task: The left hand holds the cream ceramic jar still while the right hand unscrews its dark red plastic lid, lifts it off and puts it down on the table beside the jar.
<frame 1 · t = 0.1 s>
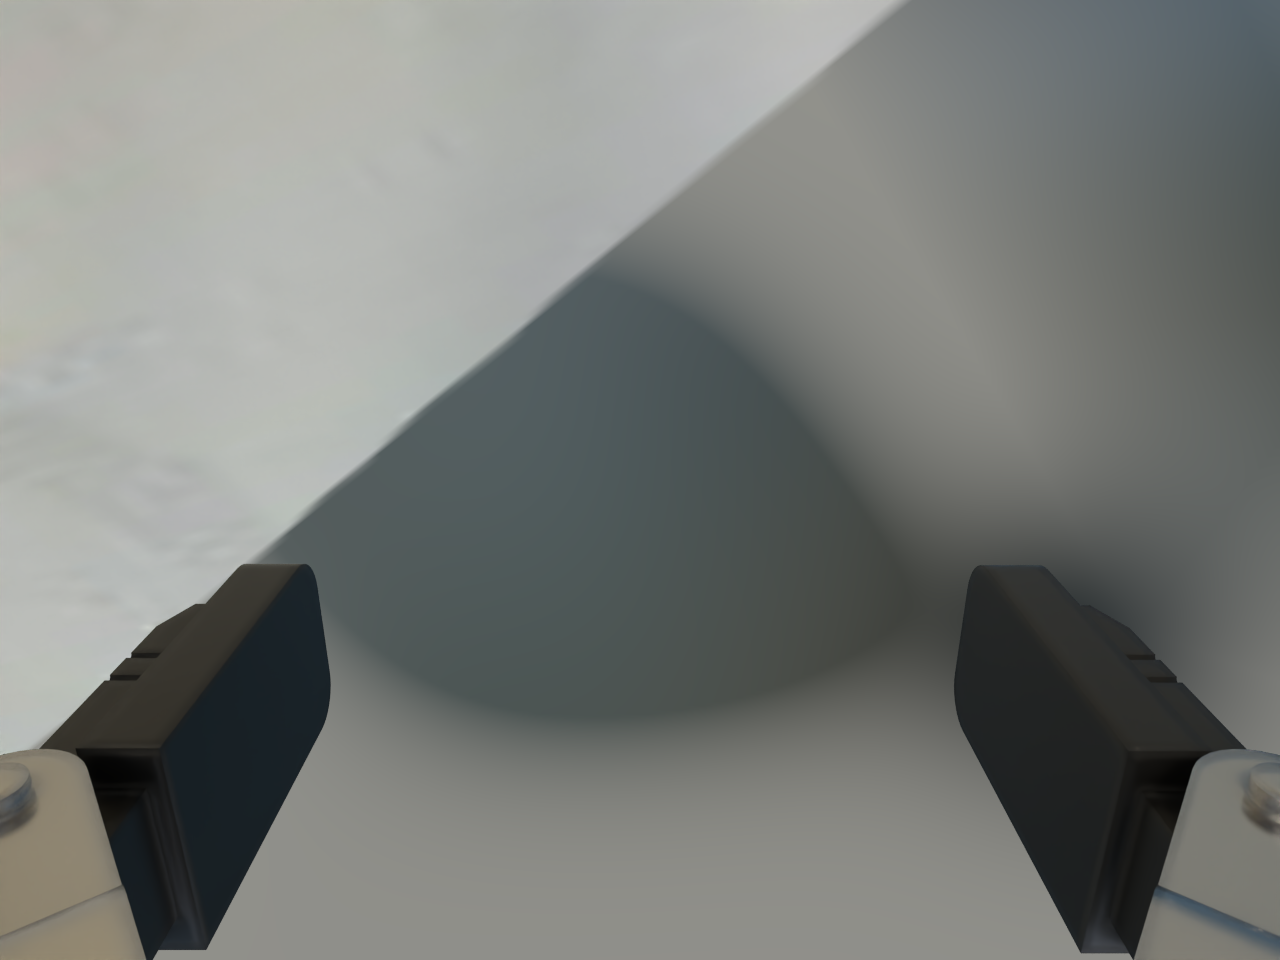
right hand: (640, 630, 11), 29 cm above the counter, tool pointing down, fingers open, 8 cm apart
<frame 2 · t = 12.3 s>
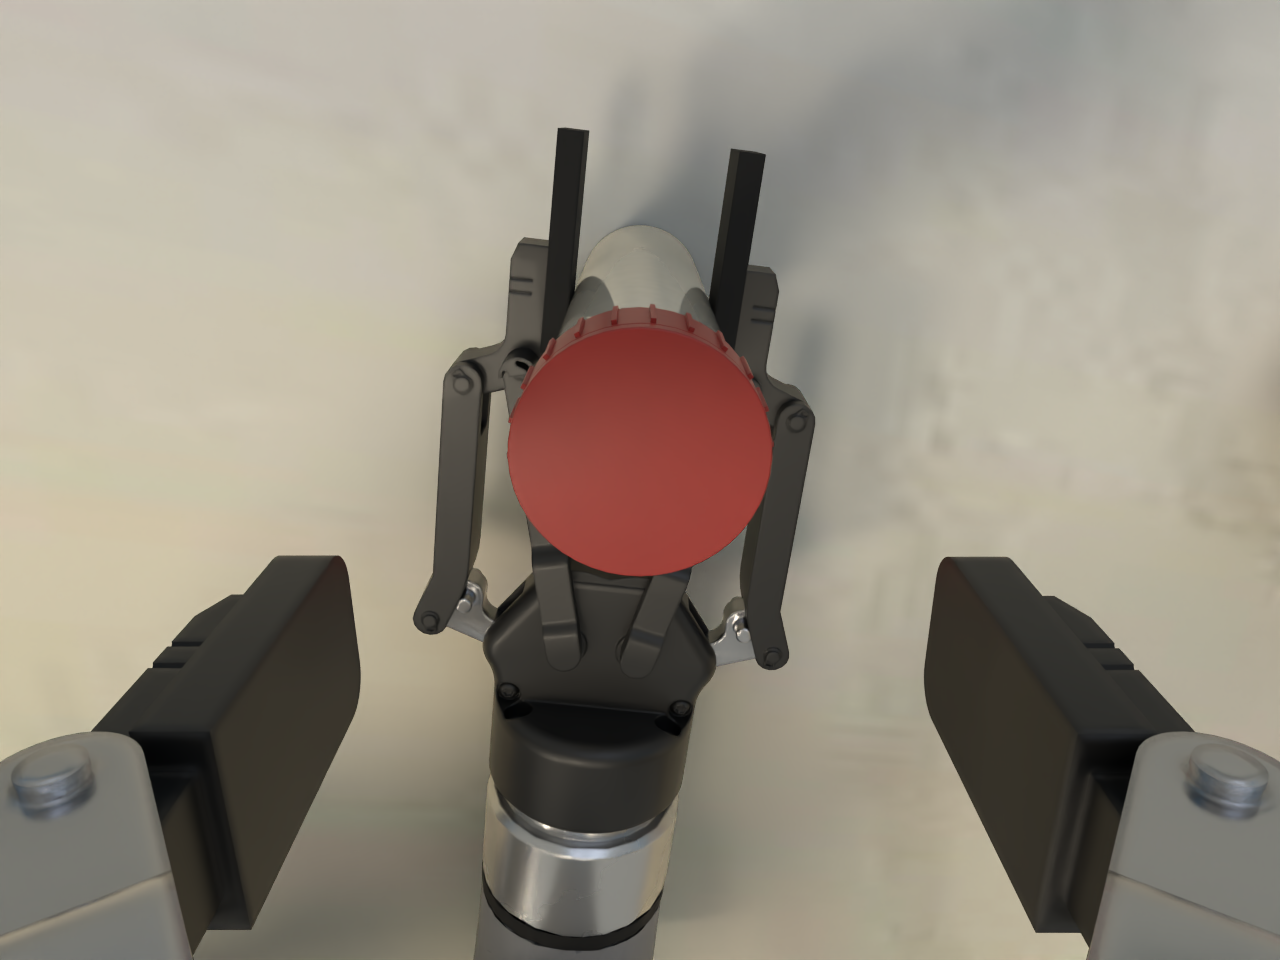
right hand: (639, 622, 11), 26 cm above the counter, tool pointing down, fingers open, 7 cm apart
left hand: (660, 142, 27), fingers closed on jar, 4 cm apart
jar: (640, 284, 35), on the counter, touching left hand
lid: (640, 452, 17), point 19 cm above the counter, screwed on, not yet turned
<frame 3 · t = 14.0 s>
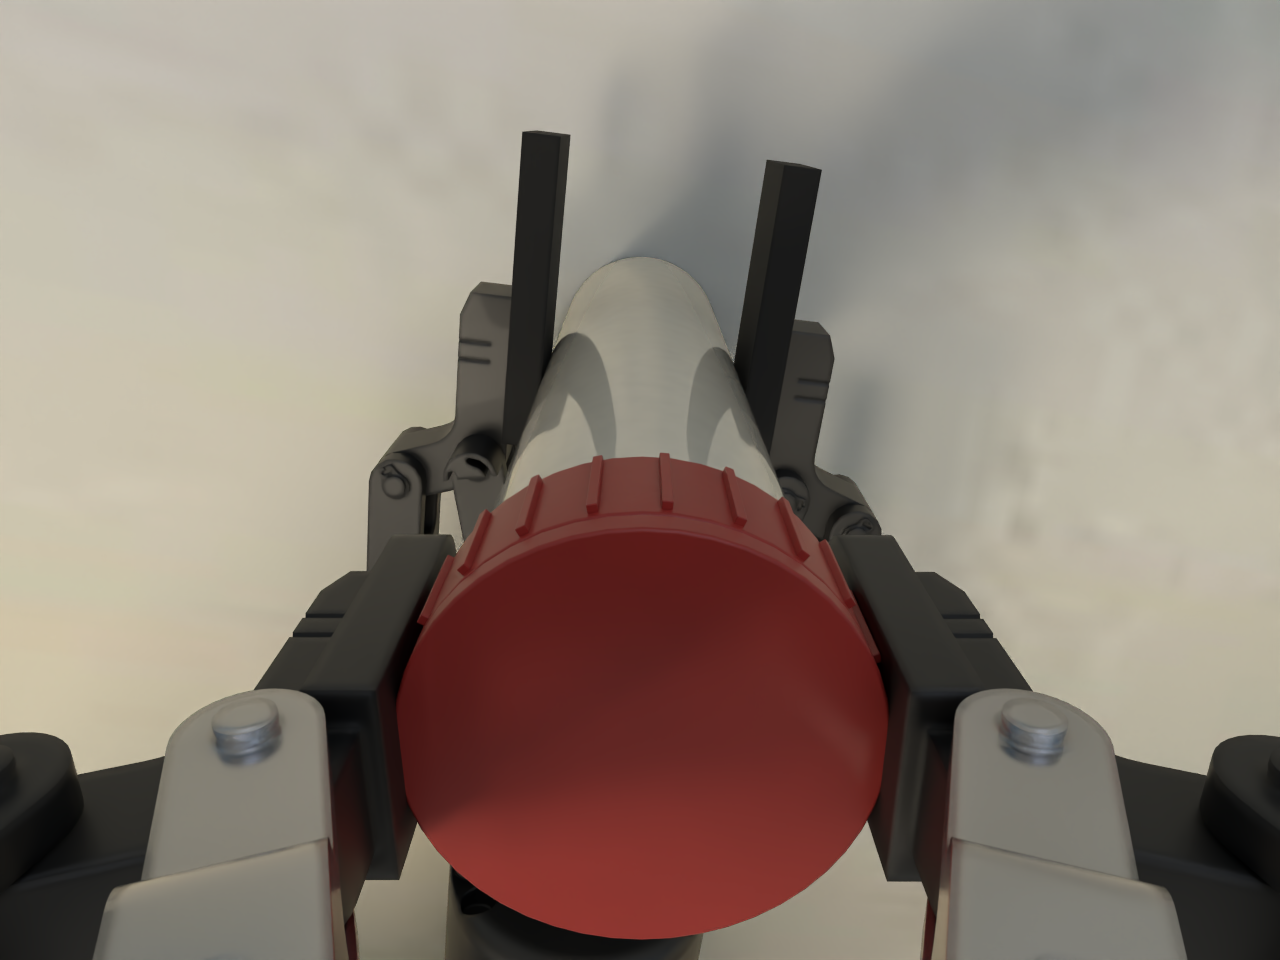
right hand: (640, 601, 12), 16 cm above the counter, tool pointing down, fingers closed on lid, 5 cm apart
jar: (640, 332, 27), on the counter, touching left hand
lid: (641, 733, 9), point 19 cm above the counter, screwed on, not yet turned, touching right hand
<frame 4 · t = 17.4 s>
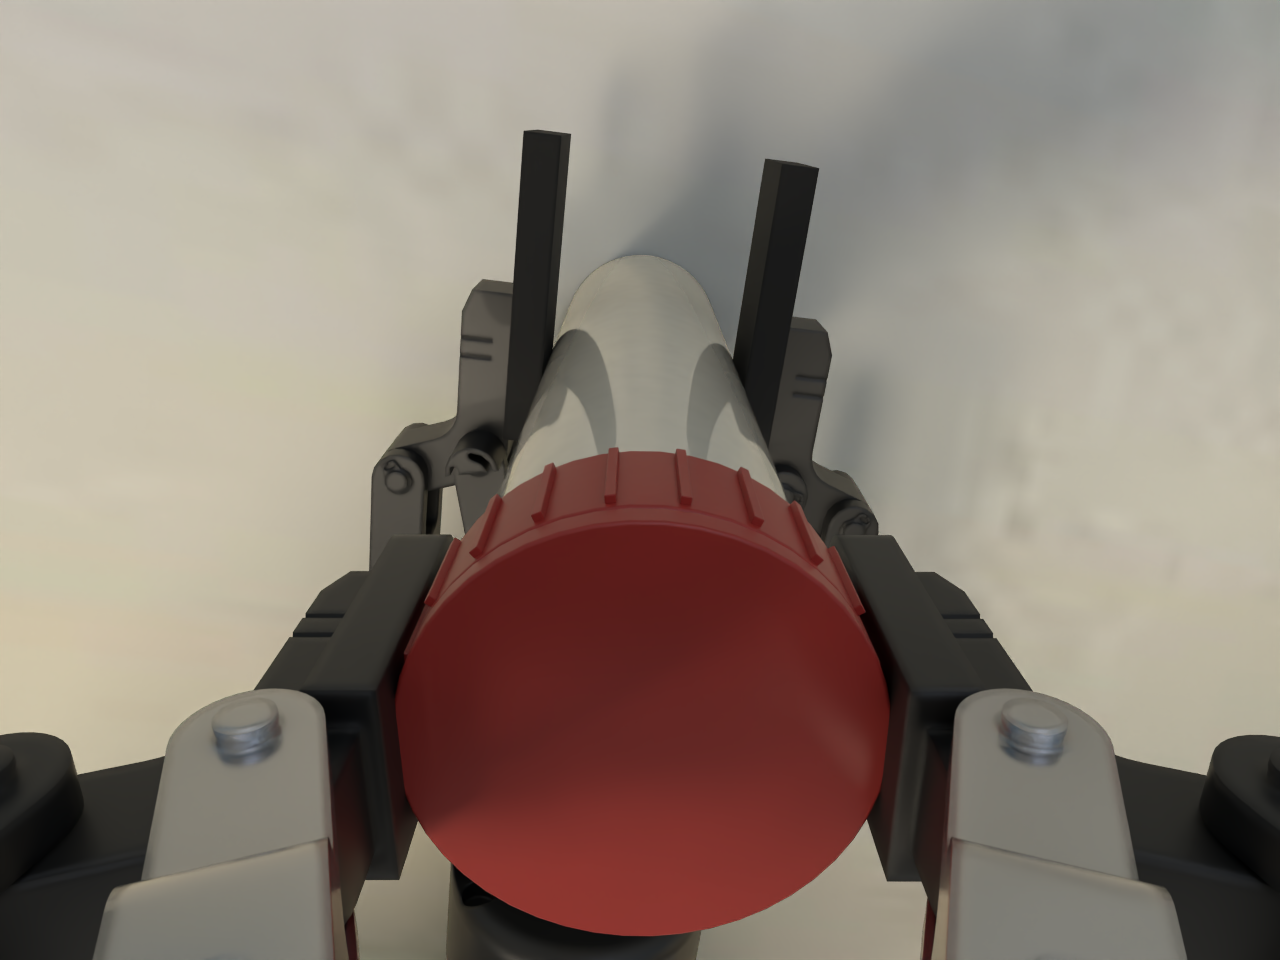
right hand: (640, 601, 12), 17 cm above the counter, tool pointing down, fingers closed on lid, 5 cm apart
jar: (640, 330, 27), on the counter, touching left hand
lid: (641, 728, 9), point 19 cm above the counter, turned 78° so far, risen 0.3 cm, still on its thread, touching right hand
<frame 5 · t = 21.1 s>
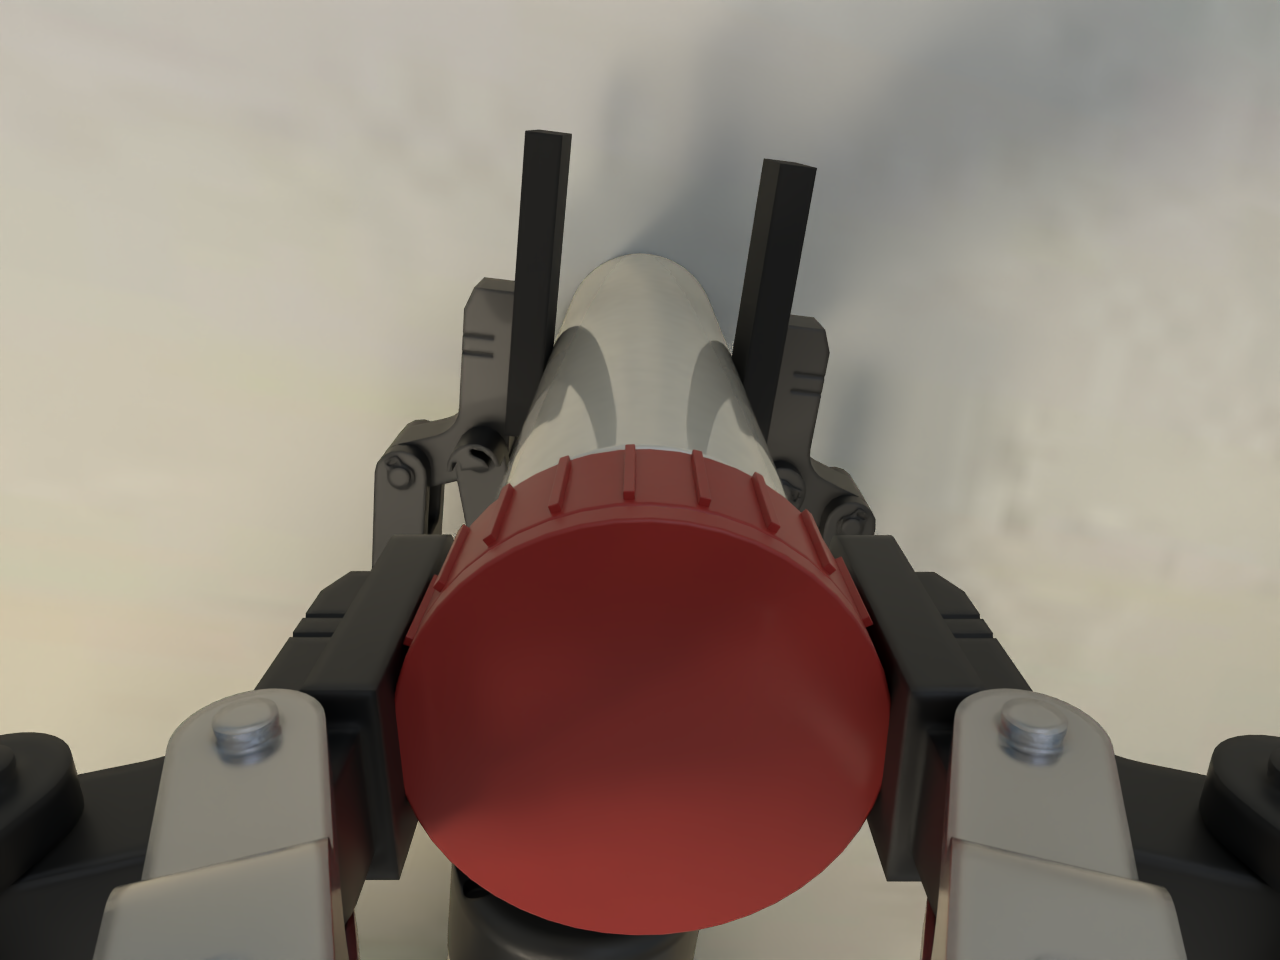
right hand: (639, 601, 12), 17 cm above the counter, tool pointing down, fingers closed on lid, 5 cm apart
jar: (640, 328, 28), on the counter, touching left hand
lid: (641, 726, 9), point 20 cm above the counter, turned 156° so far, risen 0.5 cm, still on its thread, touching right hand
when the right hand's fingers open (0 cm above the counter, at t = 28.7 s): lid drops 2 cm, point 2 cm above the counter.
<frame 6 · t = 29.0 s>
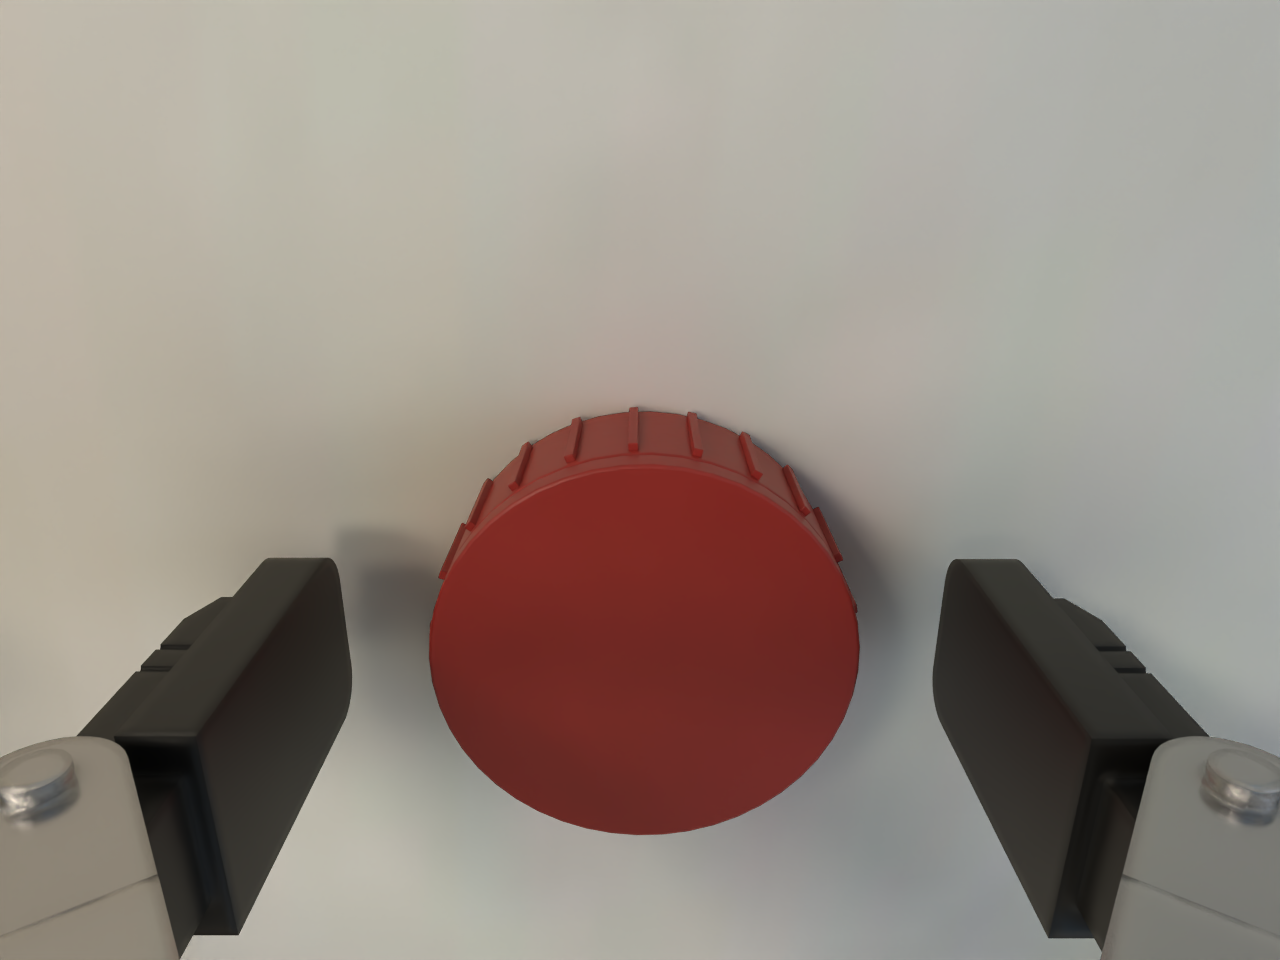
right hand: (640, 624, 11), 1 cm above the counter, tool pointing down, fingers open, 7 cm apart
lid: (644, 650, 11), point 2 cm above the counter, off its thread
when the left hand's fingers open (7 cm above the counter, at t = 29.6 s): jar stays where it is, on the counter.
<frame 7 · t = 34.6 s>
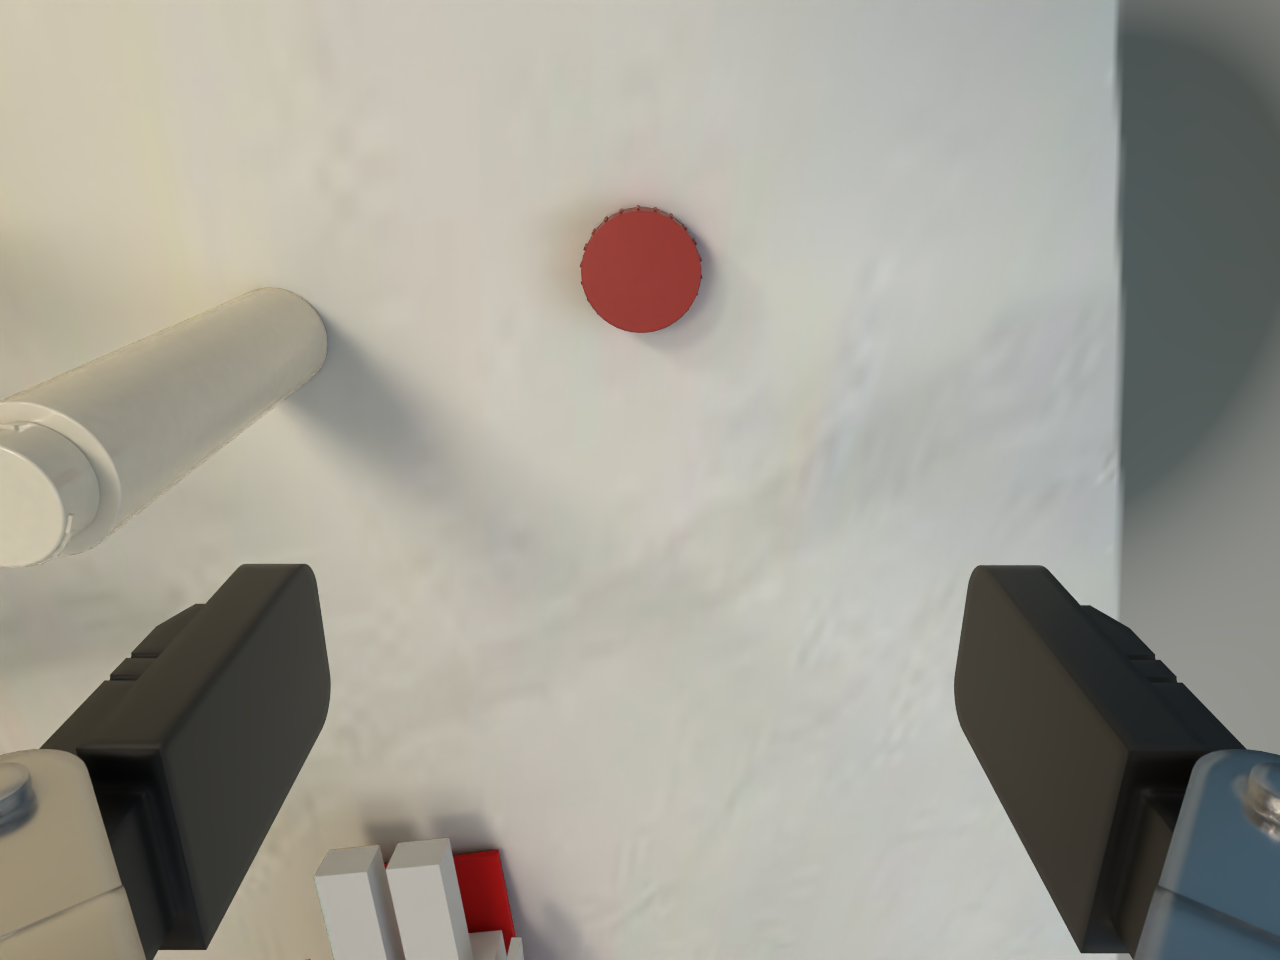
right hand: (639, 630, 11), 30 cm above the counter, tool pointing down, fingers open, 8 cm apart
jar: (277, 338, 40), on the counter
lid: (641, 272, 38), point 2 cm above the counter, off its thread
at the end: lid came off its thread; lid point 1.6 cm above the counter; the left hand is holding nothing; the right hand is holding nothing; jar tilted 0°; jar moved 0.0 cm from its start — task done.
